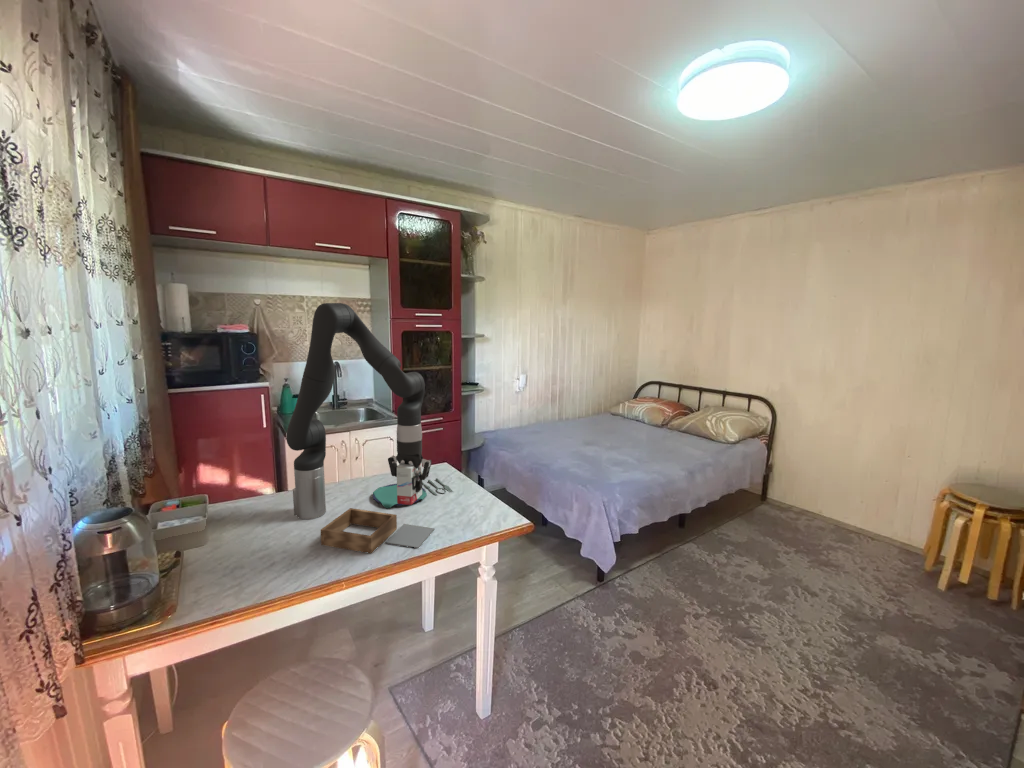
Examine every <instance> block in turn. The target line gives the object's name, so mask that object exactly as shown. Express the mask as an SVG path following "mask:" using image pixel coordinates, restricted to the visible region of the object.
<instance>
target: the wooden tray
mask: <svg viewBox="0 0 1024 768" xmlns="http://www.w3.org/2000/svg"><path fill="white" fill-rule="evenodd" d="M397 518H398V517H397V514H394V513H387V512H380V511H372V510H365V509H359V508H348V509H347V510H346V511H344V512H343V513H341V514H340V515H339V516H337V517H336V518H335V519H334V520H331V522H329V523H328V524H326V525H325V526H323V527H322V528H321V529H320V542H321V543H320V544H321V546H323V547H324V546H325V547H332V548H336V549H337V548H338V549H341V550H342V549H343V550H349V551H356V552H359V551H361V553H365V552H368V553H367V554H371V553H372V552H373V551H374V550H375V549H376V548H377V547H378V548H379V547H380V546H381V545H382V544H383V543H385V542H386V541H387V540H388V539H389V538H390V537H391V536H392V535H393V534H394V533H395V532H396V531H397V530H398V526H397V524H398V519H397ZM351 525H357V526H358V525H359V526H365V527H370V528H371V527H372V528H376V530H374V531H373V532H372V534H370V535H368V534H363V533H362V534H361V533H355V532H349V531H344V530H346V529H347V528H348V527H350V526H351ZM378 548H377V549H378ZM377 549H376V550H377ZM376 550H375V551H376ZM375 551H374V552H375ZM374 552H373V553H374ZM373 553H372V554H373Z"/></svg>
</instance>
